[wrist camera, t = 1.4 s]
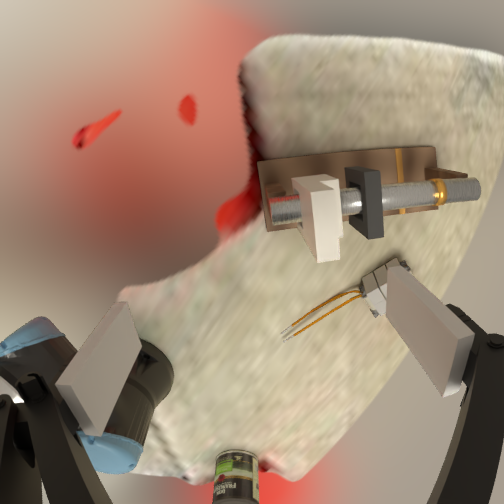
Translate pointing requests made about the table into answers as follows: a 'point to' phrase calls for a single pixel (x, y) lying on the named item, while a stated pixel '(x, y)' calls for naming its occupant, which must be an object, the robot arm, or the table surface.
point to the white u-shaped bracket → (320, 215)
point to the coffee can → (236, 478)
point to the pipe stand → (385, 160)
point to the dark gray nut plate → (367, 201)
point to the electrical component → (365, 293)
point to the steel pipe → (386, 197)
